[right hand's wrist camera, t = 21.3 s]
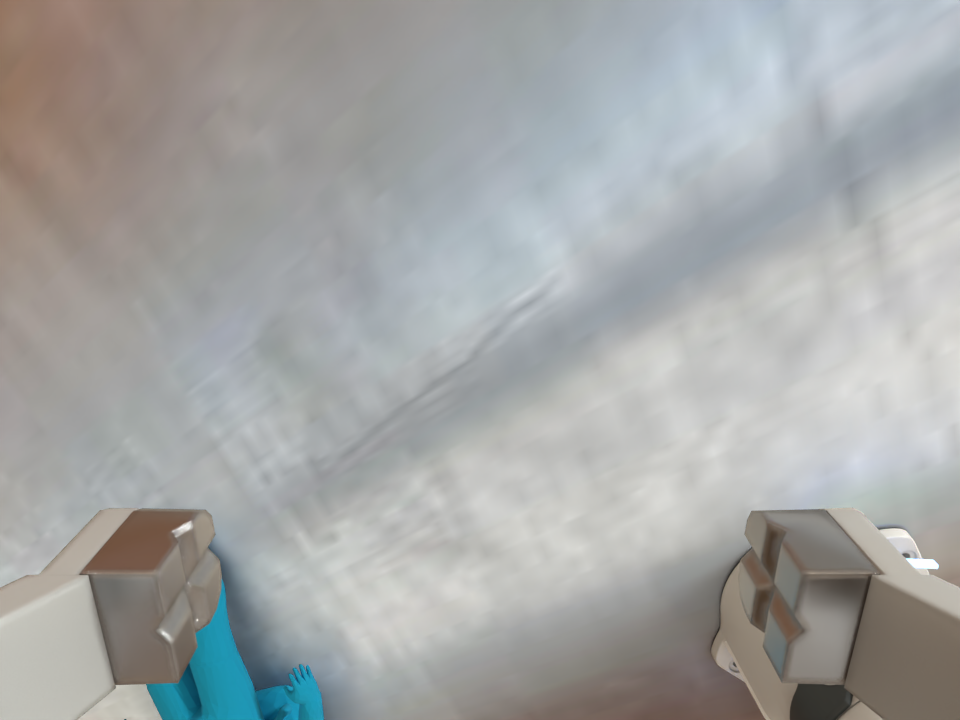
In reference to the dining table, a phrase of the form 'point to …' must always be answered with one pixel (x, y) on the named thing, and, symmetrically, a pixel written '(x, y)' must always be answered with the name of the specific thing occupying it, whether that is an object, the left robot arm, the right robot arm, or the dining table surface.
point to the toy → (232, 684)
